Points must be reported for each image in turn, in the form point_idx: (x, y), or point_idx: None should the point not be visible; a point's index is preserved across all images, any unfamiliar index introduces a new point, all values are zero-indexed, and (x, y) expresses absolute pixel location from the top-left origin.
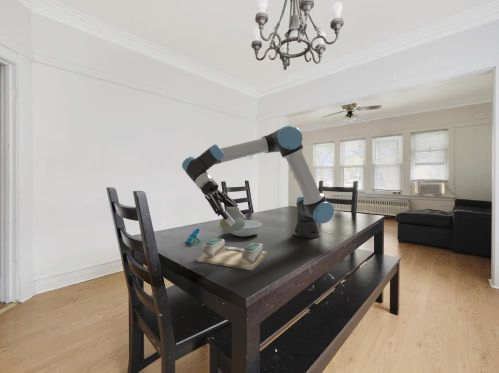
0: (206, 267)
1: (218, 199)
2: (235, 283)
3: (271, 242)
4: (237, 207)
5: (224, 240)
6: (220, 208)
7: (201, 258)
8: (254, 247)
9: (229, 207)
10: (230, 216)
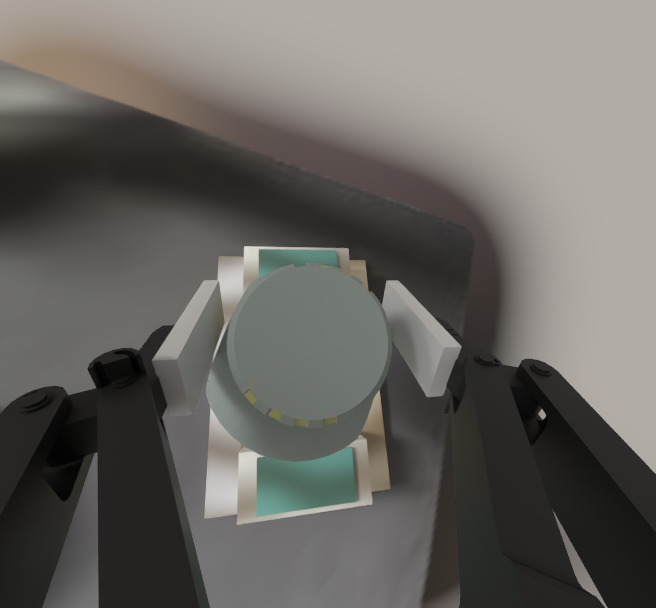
0: (410, 403)
1: (543, 569)
2: (443, 273)
3: (35, 294)
4: (275, 284)
5: (241, 451)
6: (504, 390)
7: (378, 467)
8: (311, 254)
9: (316, 378)
10: (411, 305)
